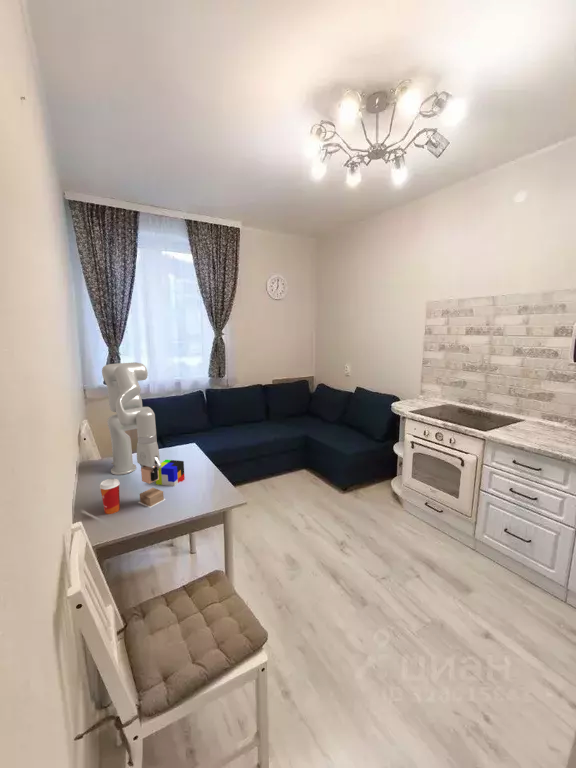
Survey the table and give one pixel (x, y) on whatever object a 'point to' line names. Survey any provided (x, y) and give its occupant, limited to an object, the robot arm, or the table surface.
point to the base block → (151, 496)
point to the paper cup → (110, 495)
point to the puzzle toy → (171, 472)
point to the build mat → (151, 506)
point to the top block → (147, 474)
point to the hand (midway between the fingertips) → (150, 478)
